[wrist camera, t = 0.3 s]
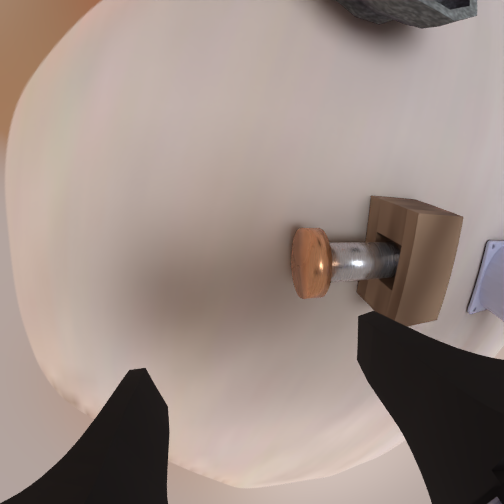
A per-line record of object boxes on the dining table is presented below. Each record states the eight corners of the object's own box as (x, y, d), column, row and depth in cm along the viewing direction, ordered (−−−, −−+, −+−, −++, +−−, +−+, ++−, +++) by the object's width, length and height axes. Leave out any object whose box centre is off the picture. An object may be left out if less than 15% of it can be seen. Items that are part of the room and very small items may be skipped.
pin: (379, 222, 18) (414, 239, 14) (371, 275, 19) (400, 301, 15) (293, 220, 17) (317, 240, 13) (289, 280, 18) (308, 311, 15)
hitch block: (415, 199, 18) (463, 216, 14) (398, 287, 21) (436, 319, 16) (371, 195, 18) (418, 213, 13) (356, 292, 20) (392, 329, 15)
